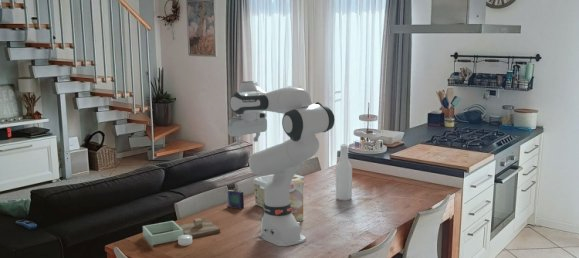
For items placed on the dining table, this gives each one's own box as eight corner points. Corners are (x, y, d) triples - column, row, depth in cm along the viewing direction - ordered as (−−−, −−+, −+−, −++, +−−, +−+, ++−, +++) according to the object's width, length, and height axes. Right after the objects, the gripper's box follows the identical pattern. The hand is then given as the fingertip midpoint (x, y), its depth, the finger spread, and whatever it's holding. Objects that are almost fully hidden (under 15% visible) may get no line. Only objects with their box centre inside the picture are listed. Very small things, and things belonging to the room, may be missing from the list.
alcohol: (351, 196, 291) (352, 143, 287) (351, 200, 283) (352, 146, 278) (335, 195, 292) (336, 143, 287) (335, 200, 284) (335, 146, 279)
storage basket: (287, 196, 293) (287, 170, 290) (306, 203, 280) (306, 176, 278) (252, 205, 278) (251, 178, 275) (270, 212, 265) (269, 184, 263)
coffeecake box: (273, 223, 249) (273, 184, 245) (270, 219, 255) (269, 180, 252) (303, 220, 252) (303, 181, 249) (299, 216, 259) (299, 177, 256)
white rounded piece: (194, 245, 222) (194, 238, 222) (180, 248, 219) (180, 240, 219) (189, 241, 228) (189, 233, 227) (176, 244, 225) (175, 236, 224)
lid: (220, 232, 235) (219, 221, 234) (188, 239, 228) (187, 227, 227) (207, 222, 248) (207, 212, 247) (177, 228, 240) (176, 217, 240)
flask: (227, 207, 275) (226, 187, 273) (230, 205, 277) (229, 185, 276) (242, 209, 271) (242, 189, 269) (245, 207, 273) (244, 187, 272)
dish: (183, 240, 228) (183, 229, 227) (151, 247, 221) (151, 236, 221) (173, 231, 240) (173, 220, 239) (143, 236, 233) (142, 226, 232)
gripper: (232, 118, 237) (232, 147, 241) (269, 113, 250) (268, 141, 253) (225, 115, 242) (225, 144, 246) (261, 110, 254) (261, 138, 258)
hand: (247, 142), depth 250 cm, fingers open, 8 cm apart
